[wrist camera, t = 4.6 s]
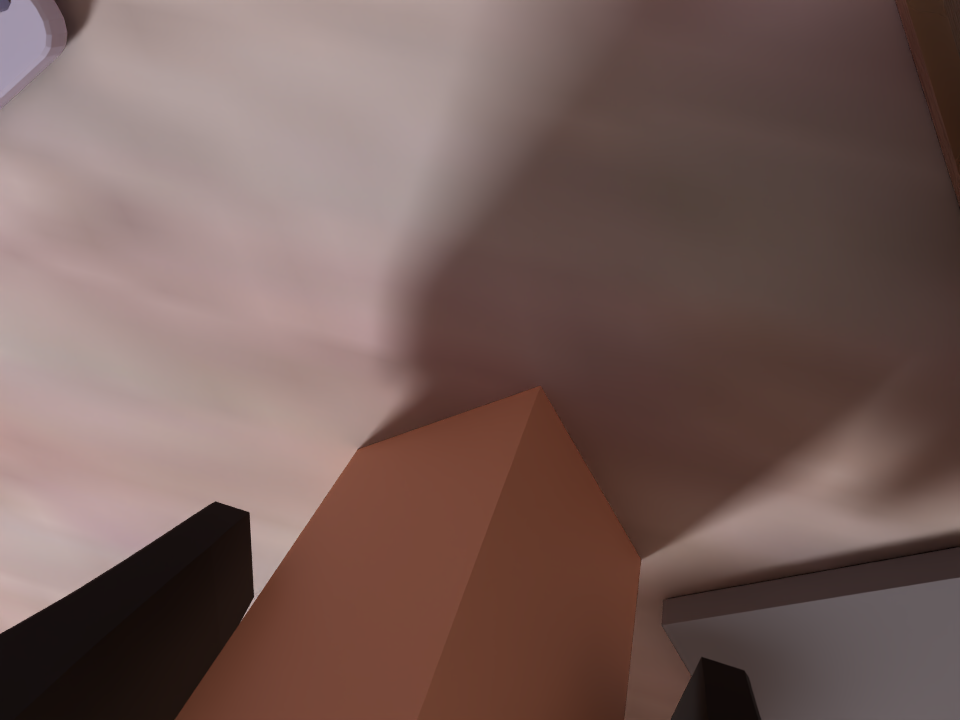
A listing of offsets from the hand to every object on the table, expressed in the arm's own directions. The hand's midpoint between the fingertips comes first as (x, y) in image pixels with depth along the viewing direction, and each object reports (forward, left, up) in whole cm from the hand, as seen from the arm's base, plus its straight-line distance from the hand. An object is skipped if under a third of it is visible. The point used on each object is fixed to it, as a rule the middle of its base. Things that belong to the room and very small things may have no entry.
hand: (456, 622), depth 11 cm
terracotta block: (0, 0, -3) cm, 3 cm away
